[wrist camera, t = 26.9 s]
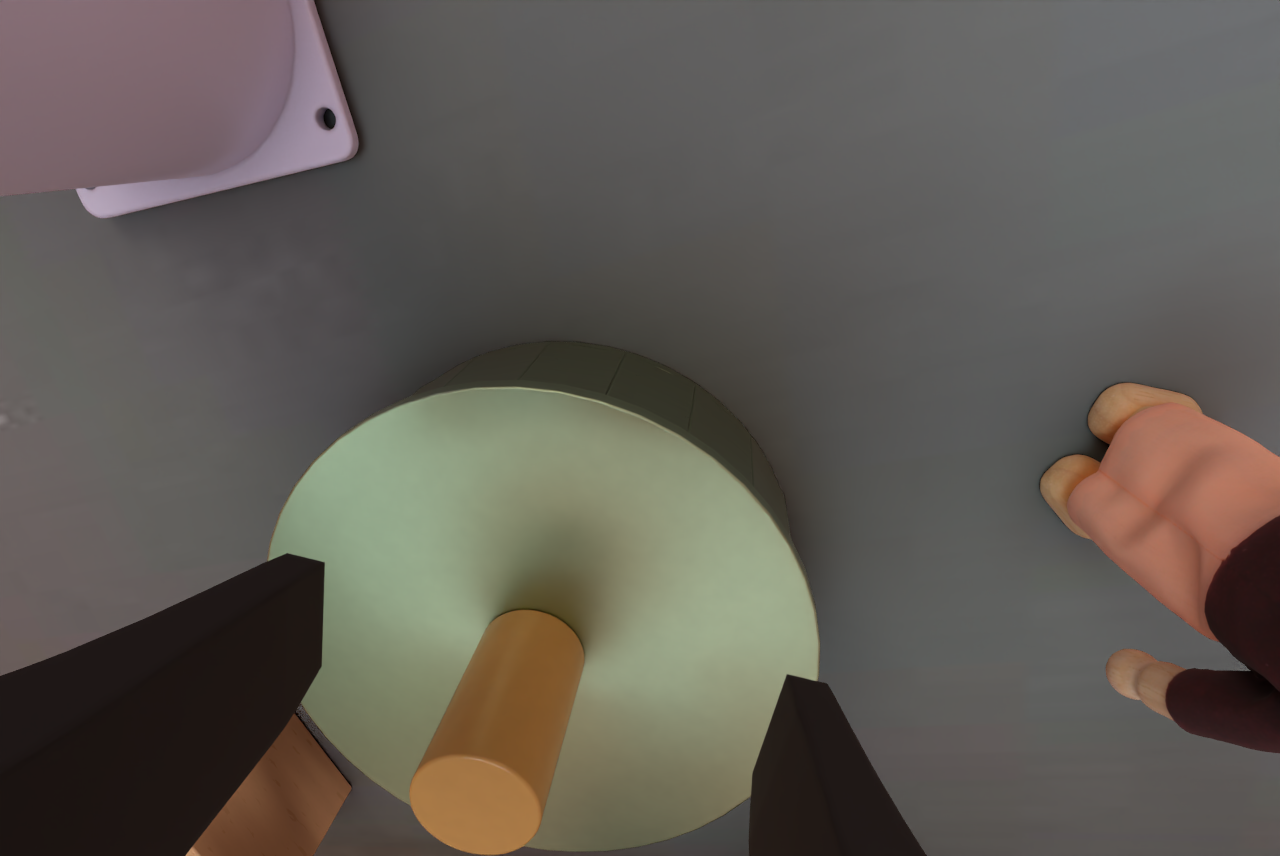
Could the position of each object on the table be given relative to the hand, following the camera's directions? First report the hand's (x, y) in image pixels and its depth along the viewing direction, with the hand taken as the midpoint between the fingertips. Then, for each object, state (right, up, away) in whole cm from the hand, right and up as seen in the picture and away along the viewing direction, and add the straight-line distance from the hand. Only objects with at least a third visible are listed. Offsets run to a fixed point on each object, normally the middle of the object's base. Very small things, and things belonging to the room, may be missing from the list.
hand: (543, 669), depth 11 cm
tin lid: (-1, -2, +7) cm, 8 cm away
